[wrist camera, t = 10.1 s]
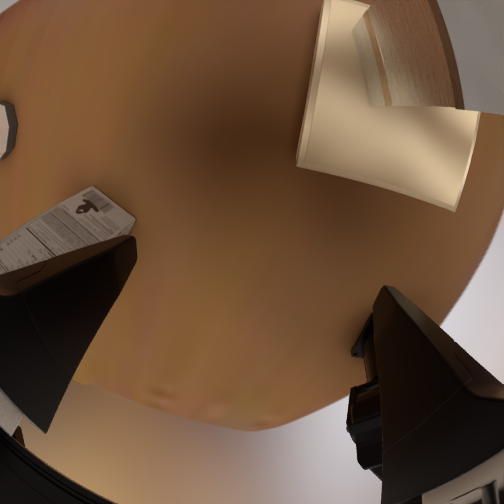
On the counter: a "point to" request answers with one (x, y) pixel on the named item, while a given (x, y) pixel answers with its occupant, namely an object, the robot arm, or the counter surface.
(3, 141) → the wine bottle
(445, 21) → the tea tin
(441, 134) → the maple block
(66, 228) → the coffee box
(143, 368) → the counter surface
